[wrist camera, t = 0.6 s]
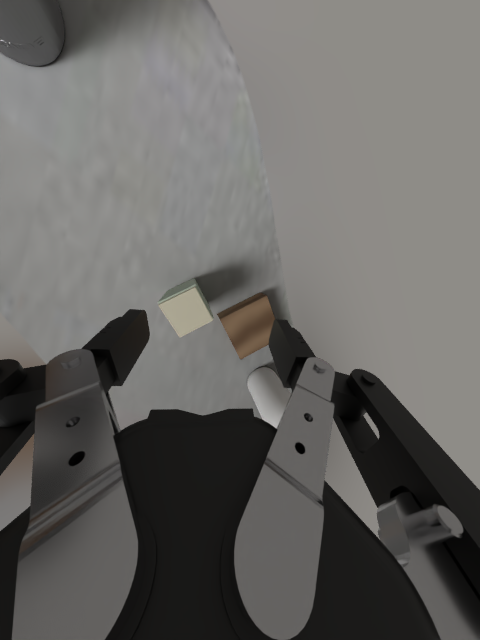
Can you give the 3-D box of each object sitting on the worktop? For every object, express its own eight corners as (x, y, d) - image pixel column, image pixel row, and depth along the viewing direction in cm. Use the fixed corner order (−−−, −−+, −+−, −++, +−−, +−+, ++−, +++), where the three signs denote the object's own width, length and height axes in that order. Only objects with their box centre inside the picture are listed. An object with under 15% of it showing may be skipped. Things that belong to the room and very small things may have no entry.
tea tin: (167, 290, 31) (155, 304, 21) (194, 277, 32) (195, 285, 21) (182, 315, 33) (179, 339, 23) (207, 303, 34) (215, 320, 23)
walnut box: (216, 313, 35) (219, 319, 32) (259, 292, 36) (266, 295, 33) (235, 350, 39) (240, 359, 35) (273, 330, 40) (281, 337, 36)
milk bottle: (240, 386, 42) (278, 480, 24) (258, 361, 41) (311, 439, 23) (263, 395, 45) (312, 485, 27) (280, 372, 44) (343, 450, 26)
